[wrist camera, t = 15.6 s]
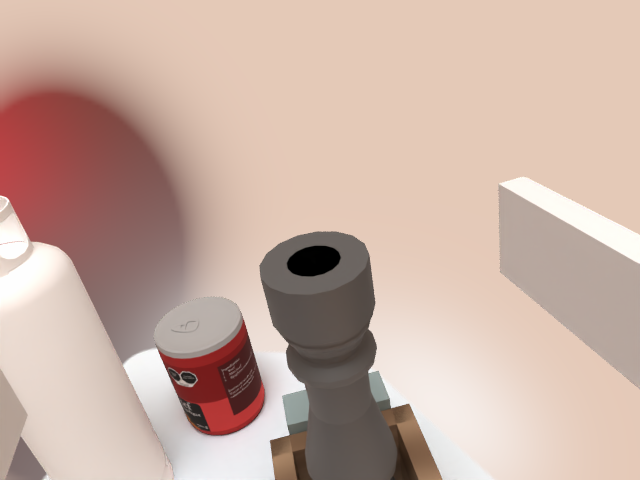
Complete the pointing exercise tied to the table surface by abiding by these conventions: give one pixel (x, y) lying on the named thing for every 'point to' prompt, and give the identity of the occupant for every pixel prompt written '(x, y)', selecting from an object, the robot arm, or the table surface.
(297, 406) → the block
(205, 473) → the table surface
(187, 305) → the canned food
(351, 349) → the candle holder
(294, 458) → the cradle
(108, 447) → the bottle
